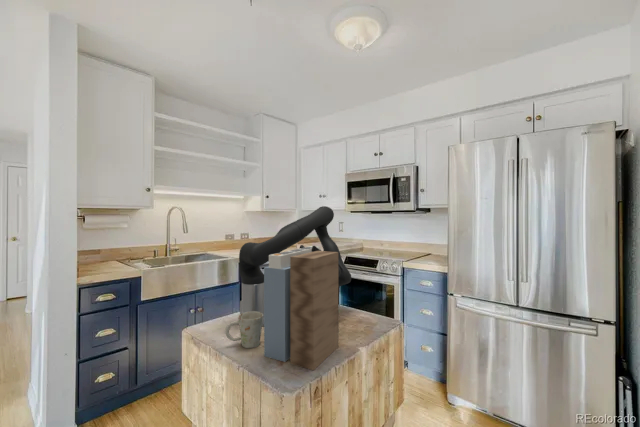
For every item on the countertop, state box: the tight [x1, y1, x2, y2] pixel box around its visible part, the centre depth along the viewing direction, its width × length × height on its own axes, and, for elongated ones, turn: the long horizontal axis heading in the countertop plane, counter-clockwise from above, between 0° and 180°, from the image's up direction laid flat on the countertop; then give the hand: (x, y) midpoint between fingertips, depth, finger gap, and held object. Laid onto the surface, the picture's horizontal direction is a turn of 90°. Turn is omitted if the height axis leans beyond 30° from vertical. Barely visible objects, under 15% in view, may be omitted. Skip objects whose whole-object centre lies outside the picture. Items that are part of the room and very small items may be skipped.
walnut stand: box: [289, 250, 340, 371], centre depth 93 cm, size 8×17×32 cm, turn 152°
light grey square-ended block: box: [268, 245, 321, 269], centre depth 102 cm, size 4×26×4 cm, turn 152°
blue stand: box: [263, 265, 290, 363], centre depth 98 cm, size 8×17×28 cm, turn 152°
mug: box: [224, 311, 263, 349], centre depth 100 cm, size 8×13×10 cm, turn 107°
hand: (306, 247), depth 108 cm, fingers open, 4 cm apart
